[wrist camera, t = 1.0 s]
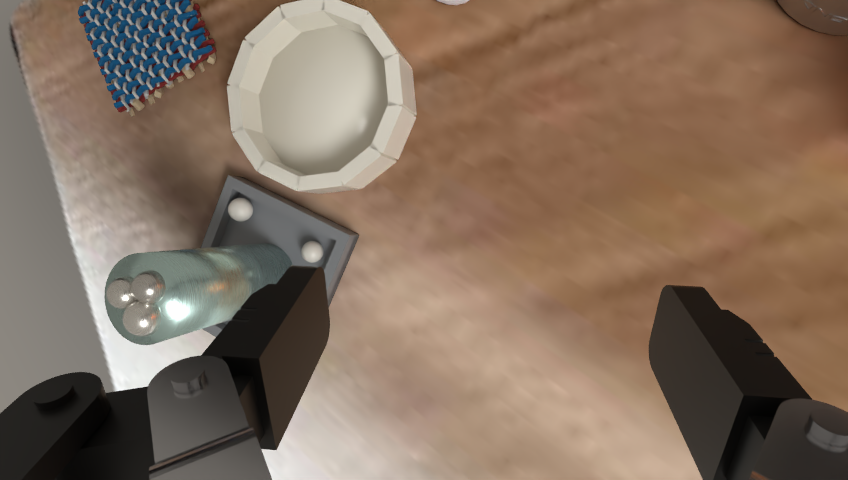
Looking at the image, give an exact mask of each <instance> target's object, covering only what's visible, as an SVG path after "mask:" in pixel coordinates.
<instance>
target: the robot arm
mask: <svg viewBox="0 0 848 480" xmlns="http://www.w3.org/2000/svg"><path fill="white" fill-rule="evenodd" d="M777 1H778V3H779V4H780V5H781V7H782V8H783V9H784V10H785V11H786V13H787V14H788V15H789V16H791V17H792V18H793V19H795V20H796V21H797V22H799V23H800V24H801V25H804V26H806V27H808V28H811V29H813V30H815V31H817V32H822V33H827V34H831V35H844V36H848V0H777ZM329 329H330V318H329V309H328V299H327V290H326V281H325V273H324V270H323V268H322V267H316V266H297V265H291V266H290V267H289V268H288V269H287V270H286V272H285V273H284V274H283V276H282V277H281V278H280V280H279V281H278V282H277V284H267V285H266V286H264V287H262V288H261V289H259V290H258V291H256V292H254V293H253V294H251V295H250V297H249V298H248V299H247V300H246V302H245V303H244V304H243V305H242V306H241V310H238V311H237V312H236V314H235V315H234V316H233V317H232V321H229V322H228V323H227V325H226V326H225V327H224V328H223V330H222V331H221V332H220V333H219V334H218V336H217V337H216V338H215V339H214V341H213V342H212V343H211V344H210V345H209V347H208V348H207V349H206V350H205V352H204V353H203V354H202V355H201V356H194V357H189V358H185V359H182V360H180V361H177V362H175V363H173V364H171V365H169V366H167V367H165V368H164V369H163V370H161V371H160V372H159V373H158V374H157V375H155V377H154V378H153V379H152V380H151V382H150V383H149V386H148V387H143V388H136V389H130V390H123V391H117V392H110V393H105V390H104V387H103V384H102V382H101V380H100V378H99V377H98V376H96V375H94V374H91V373H85V372H77V373H68V374H64V375H60V376H57V377H54V378H51V379H49V380H46V381H44V382H42V383H39V384H38V385H36V386H34V387H32V388H30V389H29V390H27V391H26V392H25V393H23V394H22V395H21V396H19V397H18V398H17V399H16V400H15V401H14V402H13V403H12V404H11V405H9V406H8V407H7V408H6V409H5V410H4V411H3V412H2V413H1V414H0V480H272V478H271V475H270V473H269V470H268V467H267V464H266V461H265V459H264V456H263V453H262V450H261V449H270V450H277V448H278V446H279V443H280V441H281V439H282V437H283V435H284V433H285V431H286V429H287V427H288V424H289V422H290V420H291V418H292V416H293V414H294V412H295V410H296V408H297V405H298V403H299V401H300V399H301V397H302V395H303V393H304V391H305V389H306V386H307V384H308V382H309V380H310V378H311V376H312V374H313V372H314V370H315V367H316V365H317V363H318V361H319V359H320V357H321V355H322V353H323V351H324V349H325V346H326V344H327V341H328V337H329ZM649 360H650V364H651V368H652V370H653V372H654V374H655V377H656V379H657V381H658V383H659V385H660V387H661V390H662V392H663V394H664V396H665V398H666V400H667V403H668V405H669V407H670V409H671V411H672V413H673V416H674V418H675V420H676V422H677V424H678V426H679V429H680V431H681V433H682V435H683V437H684V439H685V442H686V444H687V446H688V448H689V450H690V452H691V455H692V457H693V459H694V461H695V463H696V465H697V467H698V470H699V472H700V474H701V476H702V478H703V480H848V412H846V411H844V410H842V409H839V408H837V407H835V406H832V405H829V404H827V403H823V402H820V401H816V400H812V398H811V397H810V396H809V395H808V394H807V393H806V391H805V390H804V389H803V388H802V387H801V385H800V384H799V383H798V382H797V381H796V379H795V378H794V377H793V376H792V375H791V373H790V372H789V371H788V370H787V369H786V367H785V366H784V365H783V364H782V363H781V361H780V360H779V359H778V358H777V357H774V353H773V352H772V351H771V349H770V348H769V347H768V346H767V345H766V343H763V340H762V339H761V337H760V336H759V335H758V334H757V333H756V331H755V330H754V329H753V328H752V327H751V325H750V324H748V323H747V322H745V321H744V320H742V319H741V318H739V317H738V316H736V315H735V314H733V313H732V312H730V311H729V310H721V309H720V307H719V306H718V305H717V304H716V302H715V301H714V300H713V299H712V297H711V296H710V295H709V293H708V292H707V291H706V290H705V289H704V288H703V287H695V286H675V285H666V286H665V287H664V288H663V290H662V292H661V295H660V299H659V303H658V307H657V311H656V316H655V320H654V324H653V328H652V332H651V337H650V341H649Z"/></svg>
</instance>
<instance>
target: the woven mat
mask: <svg viewBox="0 0 848 480" xmlns="http://www.w3.org/2000/svg"><path fill="white" fill-rule="evenodd" d="M91 2H92V3H91ZM82 3H83V4H84V5H83V6H80V7H79V10H78V14H79V16H80V18H79V20H80V22H81V23H82V24H84V23H86V22H87V23H86V24H84V27H85V32H86V33H90V34H88V35H87V39H88V41H90V43H91V45H92V49H93V50H95V52H93V53H94V56H95V58H97V57H98V58H97V60H98V61H99V62H98V64H99V66H100V67H101V69H100V71H101V73H102V75H104V76H105V78H106V79H105V81H106V83H111V85H109V86H107V89H108V90H109V91H110V92H111V95H113V96H112V98H113V100H116V103H114V106H115V107H116V108H117V110H118V112H123V111H124V110H126V109H127V112H129V114H130V116H131V117H133V116H134V115H135V114H134V111H133V108H132V107H135V108H136V109H137V110H138V111H139V110H142V109H143V108H144V106H145V105H144V104H143V102H145V99H148V101H149V103H150V105H152V104H153V103H155V101H154V98H153V95H152V93H154V92H155V93H154V96H156V97H158V98H161V97H162V95H163V93H164V92H163V89H162V87H163V86H166V87H167V88H168V89H171V88H172V87H174V84H173V80H174V79H176V78H177V80H178V82H179V83H180V82H181V81H183V80H184V78H183V75H186V77H187V78H188V79H190V78H192V77H193V76H194V75H195V73H194V71H193V70H194V69H195V67H196V65H198V67H199V69H200V71H201V72H203V71H205V70H204V67H203V64H202V61H203V60H205V59H206V58H208V59H207V62H208V63H211V64H214V63H215V60H216V56H215V52H216V49H215V47H213V46H211V45H212V44H214V43H215V42H214V40H213V39H210V40H209V39H208V37H207V36H209V35H210V33H209V31H208V30H207V29H206V30H204V26H205V23H204V21H202V20H200V17H201V14H200V12H198V11H199V8H200V7H199V5H198V4H193V2H192V0H88V3H86V2H85V1H84V2H82ZM141 4H142V5H141ZM84 12H85V13H84ZM155 40H156V41H155ZM119 96H120V97H119Z"/></svg>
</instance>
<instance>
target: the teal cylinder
mask: <svg viewBox="0 0 848 480" xmlns="http://www.w3.org/2000/svg"><path fill="white" fill-rule="evenodd" d="M291 265H293V264H292V262H291V260H290V258H289V256H288V255H287V254H286V253H285V252H284V251H283V250H282V249H281V248H279V247H278V246H276V245H273V244H268V243H261V244H248V245H235V246H223V247H210V248H197V249H185V250H172V251H159V252H147V253H136V254H131V255H128V256H126V257H124V258H123V259H121V260H120V261H119V262H118V263H117V264H116V265H115V266H114V268H113V269H112V271H111V272H110V274H109V277H108V279H107V282H106V287H105V305H106V310H107V313H108V316H109V319H110V321H111V322H112V324H113V326H114V327H115V329H116V330H117V331H118V332H119V333H120V334H121V335H122V336H123V337H124V338H126V339H127V340H129V341H131V342H133V343H136V344H141V345H150V344H155V343H158V342H161V341H164V340H168V339H171V338H174V337H177V336H180V335H184V334H187V333H190V332H193V331H196V330H200V329H203V328H206V327H209V326H212V325H215V324H219V323H222V322H225V321H228V320H231V319H232V317H233V316H234V315H235V314H236V312H237V311H238V310H241V306H242V305H243V304H244V303H245V302H246V300H247V299H248V298H249V297H250V295H251V294H253V293H254V292H256V291H258V290H259V289H261V288H262V287H264V286H266V285H267V284H277V282H278V281H279V280H280V278H281V277H282V276H283V274H284V273H285V272H286V270H287V269H288V268H289V267H290V266H291Z"/></svg>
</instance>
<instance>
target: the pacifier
mask: <svg viewBox="0 0 848 480" xmlns="http://www.w3.org/2000/svg"><path fill="white" fill-rule="evenodd" d="M437 1H439V2H442V3H445V4H450V5H458V4H463V3H466V2H467V1H469V0H437Z"/></svg>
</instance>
